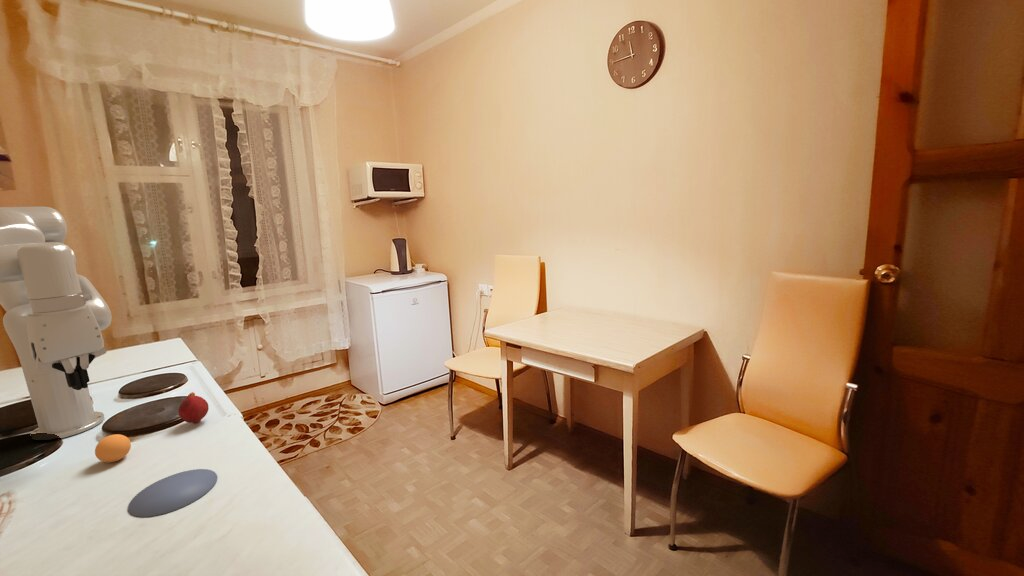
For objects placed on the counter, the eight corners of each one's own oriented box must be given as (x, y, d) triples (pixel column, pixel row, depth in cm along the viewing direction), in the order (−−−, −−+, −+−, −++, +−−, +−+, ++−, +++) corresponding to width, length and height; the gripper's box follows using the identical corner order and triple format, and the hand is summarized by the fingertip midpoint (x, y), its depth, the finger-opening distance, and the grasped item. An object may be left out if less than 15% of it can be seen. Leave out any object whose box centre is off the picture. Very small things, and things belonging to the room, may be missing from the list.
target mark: (113, 504, 76) (113, 503, 76) (193, 463, 87) (193, 462, 87) (151, 526, 70) (151, 525, 70) (232, 479, 82) (231, 478, 81)
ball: (93, 464, 89) (87, 440, 88) (126, 450, 94) (120, 427, 92) (105, 470, 86) (99, 445, 85) (138, 455, 91) (133, 432, 90)
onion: (195, 430, 101) (189, 399, 99) (175, 428, 102) (168, 397, 101) (216, 418, 107) (210, 388, 105) (197, 416, 108) (191, 387, 106)
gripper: (97, 295, 96) (115, 373, 99) (-3, 311, 83) (22, 400, 86) (113, 297, 92) (131, 377, 96) (11, 314, 79) (37, 406, 83)
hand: (80, 387), depth 91 cm, fingers closed
